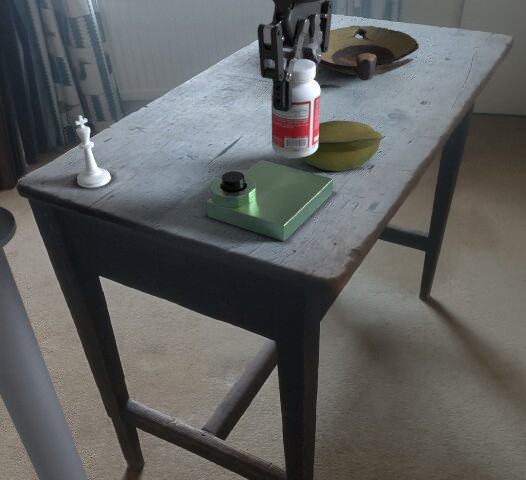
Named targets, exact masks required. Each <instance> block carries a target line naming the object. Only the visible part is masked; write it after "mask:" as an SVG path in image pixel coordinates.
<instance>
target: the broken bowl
mask: <svg viewBox="0 0 526 480" xmlns="http://www.w3.org/2000/svg"><path fill="white" fill-rule="evenodd" d="M321 35H322V33H321ZM358 35H359V36H360V38H359V37H356V36H358ZM419 48H420V44H419V43H418V41H417V40H416V38H414V37H412V36H411V35H410V34H407V33H406V32H403V31H400V30H394V29H391V28H390V29H389V28H386V27H381V26H374V25H351V26H347V27H340V28H334V29H330V37H329V47H328V51H327V52H326V53H322V58H321V61H320V62H318V64H320V65H322V66H324V67H326V68H328V69H330V70H333V71H335V72H338V73H342V74H346V75H351V76H357V77H358V78H359V80H360V81H366V82H367V81H370V80H371V79H372V78H373V76H376V75H381V74H385V73H388V72H392V71H394V70H396V69H399V68H401V67H403V66H406V65H407V64H409V63H411V62H413V61H414V58H405V57H408V56H410V55H412V54H413V53H414V52H416V51H418V50H419ZM404 58H405V59H404Z"/></svg>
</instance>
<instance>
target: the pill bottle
mask: <svg viewBox="0 0 526 480" xmlns="http://www.w3.org/2000/svg"><path fill="white" fill-rule="evenodd" d="M286 62H287V60H286V59H284V70H285V66H286ZM315 74H316V65H315V63H314V62H313V61H311V60H308V59H301V57H300V59H299V60H298V61H297V62H295V64H294V68H293V73H292V77H291V80H292V106H291V109H290V110H289V111H287V112H284V111H279V110H276V109H274V107H273V85H272V86H271V95H270V97H271V101H270V102H271V147H272V150H273V152H275V153H276V154H277V155H278V156H281V157H284V158H288V159H300V158H301V157H306V156H309V155H311V154H313V153H314V152H315V151H316V150H317V148H318V139H319V123H320V114H321V113H320V111H321V87H320V84H319V82H316V81H315V80H313V79H314V78H315Z"/></svg>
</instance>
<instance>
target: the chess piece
mask: <svg viewBox="0 0 526 480" xmlns="http://www.w3.org/2000/svg"><path fill="white" fill-rule="evenodd" d="M85 123H88V118H86V117H83V115H82V114H79V115H77V120H75V121H74V125H75V126H78V127H77V128H76V129H75V133H76V135H77V136H78V137H79V140H80V141H81V142H80V143H79V144H78V148H79V149H81V150H83V155H84V163H85V168H84V170H83V171H81V172H79V173H78V174H77V176H76V179H77V181H76V182H77V184H78V185H79V186H80V187H82V188H87V189H92V188H93V189H94V188H99V187H102V186H105V185H107V184H108V183H109V182H110V181H111V179H112V176H111V174H110V172H109V171H108V170H107V169H105V168H102V167H99V166H98V165H97V162H96V160H95V157H94V154H93V151H92V148H94V146H95V144H94V142H93V141H91V140H90V136H91V128H90V126H86V125H85Z"/></svg>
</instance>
